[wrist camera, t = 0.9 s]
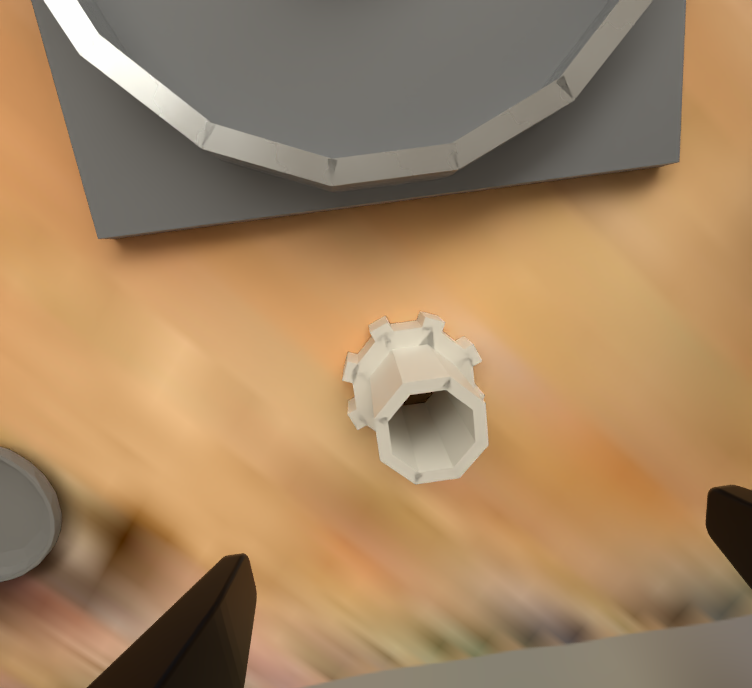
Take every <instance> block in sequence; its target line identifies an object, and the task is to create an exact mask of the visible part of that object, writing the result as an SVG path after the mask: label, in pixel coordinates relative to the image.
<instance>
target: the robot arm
mask: <svg viewBox="0 0 752 688" xmlns="http://www.w3.org/2000/svg"><path fill="white" fill-rule="evenodd" d="M706 529H707V531H708V534H709V535H710V537H711V539H712V540H713V541H714V543H715V544H716V545H717V546H718V548H719V549H720V550H721V551H722V553H723V554H724V555H725V556H726V558H727V559H728V560H729V561H730V563H731V564H732V565H733V566H734V568H735V569H736V570H737V571H738V573H739V574H740V575H741V576H742V578H743V579H744V580H745V582H746V583H747V584H748V585H749V587H750V588H751V589H752V490H749V489H746V488H743V487H740V486H736V485H727V486H720V487H714V488H712V489H710V491H709V492H708V496H707V510H706ZM256 599H257V593H256V586H255V582H254V578H253V573H252V569H251V565H250V561H249V558H248V556H247V555H246V554H244V553H242V554H235V555H228V556H225V557H223V558H222V559H221V560H220V561H219V562H218V563H217V564H216V565H215V566H214V567H213V568H212V569H210V570H209V571H208V572H207V573H206V574H205V575H204V576H203V577H202V578H201V579H200V580H199V581H198V582H197V583H196V584H195V585H194V586H193V587H192V588H191V589H190V590H189V591H187V592H186V593H185V594H184V595H183V596H182V597H181V598H180V599H179V600H178V601H177V602H176V603H175V604H174V605H173V606H172V607H171V608H170V609H169V610H168V611H167V612H165V613H164V614H163V615H162V616H161V617H160V618H159V619H158V620H157V621H156V622H155V623H154V624H153V625H152V626H151V627H150V628H149V629H148V630H147V631H146V632H145V633H144V634H142V635H141V636H140V637H139V638H138V639H137V640H136V641H135V642H134V643H133V644H132V645H131V646H130V647H129V648H128V649H127V650H126V651H125V652H124V653H123V654H122V655H120V656H119V657H118V658H117V659H116V660H115V661H114V662H113V663H112V664H111V665H110V666H109V667H108V668H107V669H106V670H105V671H104V672H103V673H102V674H101V675H100V676H99V677H97V678H96V679H95V680H94V681H93V682H92V683H91V684H90V685H89V686H88V687H87V688H244V683H245V677H246V670H247V663H248V656H249V649H250V643H251V636H252V629H253V622H254V615H255V608H256Z"/></svg>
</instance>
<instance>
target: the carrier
mask: <svg viewBox="0 0 752 688" xmlns="http://www.w3.org/2000/svg"><path fill="white" fill-rule="evenodd" d="M31 1H32V5H33V8H34V12H35V16H36V19H37V23H38V26H39V30H40V33H41V37H42V41H43V44H44V48H45V51H46V55H47V58H48V62H49V65H50V69H51V73H52V76H53V80H54V83H55V87H56V90H57V94H58V98H59V101H60V105H61V108H62V112H63V115H64V119H65V123H66V126H67V130H68V133H69V137H70V140H71V144H72V148H73V151H74V155H75V158H76V162H77V165H78V169H79V173H80V176H81V180H82V183H83V187H84V190H85V194H86V197H87V201H88V205H89V208H90V212H91V215H92V219H93V222H94V226H95V230H96V233H97V237H98V239H118V238H125V237H133V236H140V235H148V234H155V233H163V232H170V231H178V230H186V229H193V228H201V227H208V226H216V225H223V224H231V223H238V222H246V221H254V220H261V219H269V218H276V217H284V216H291V215H299V214H306V213H314V212H321V211H329V210H337V209H344V208H352V207H359V206H367V205H374V204H382V203H389V202H397V201H405V200H412V199H420V198H427V197H435V196H442V195H450V194H457V193H465V192H473V191H480V190H488V189H495V188H503V187H510V186H518V185H525V184H533V183H541V182H548V181H556V180H563V179H571V178H578V177H586V176H593V175H601V174H609V173H616V172H624V171H631V170H639V169H646V168H654V167H661V166H665V165H669V164H673V163H677V162H679V157H680V133H681V109H682V84H683V60H684V36H685V12H686V0H653V1H652V2H651V3H650V5H649V6H648V7H647V9H646V10H645V11H644V12H643V14H642V15H641V16H640V17H639V19H638V20H637V21H636V23H635V24H634V25H633V26H632V28H631V29H630V30H629V31H628V33H627V34H626V35H625V36H624V38H623V39H622V40H621V42H620V43H619V44H618V45H617V47H616V48H615V49H614V50H613V52H612V53H611V54H610V56H609V57H608V58H607V59H606V61H605V62H604V63H603V64H602V66H601V67H600V68H599V69H598V71H597V72H596V73H595V75H594V76H593V77H592V78H591V80H590V81H589V82H588V83H587V85H586V86H585V87H584V89H583V90H582V91H581V92H580V94H579V95H578V96H577V97H576V99H575V100H574V101H573V102H571V103H569V104H568V105H566V106H565V107H563V108H562V109H560V110H559V111H557V112H555V113H554V114H552V115H551V116H549V117H548V118H546V119H544V120H543V121H541V122H539V123H538V124H536V125H534V126H533V127H531V128H529V129H528V130H526V131H524V132H523V133H521V134H519V135H518V136H516V137H514V138H513V139H511V140H509V141H508V142H506V143H504V144H503V145H501V146H499V147H498V148H496V149H494V150H492V151H491V152H489V153H487V154H486V155H484V156H482V157H481V158H479V159H477V160H476V161H474V162H472V163H471V164H469V165H467V166H466V167H464V168H462V169H461V170H459V171H457V172H456V173H454V174H452V175H451V176H449V177H447V178H445V179H438V180H430V181H423V182H415V183H407V184H400V185H392V186H385V187H377V188H369V189H362V190H354V191H347V192H339V193H332V192H329V191H325V190H322V189H318V188H315V187H311V186H308V185H304V184H301V183H297V182H294V181H291V180H287V179H284V178H280V177H277V176H273V175H270V174H266V173H263V172H259V171H256V170H252V169H249V168H245V167H242V166H238V165H235V164H231V163H228V162H224V161H221V160H220V159H218V158H216V157H215V156H213V155H211V154H210V153H208V152H206V151H205V150H203V149H202V148H200V147H199V146H198V145H196V144H195V143H194V142H192V141H191V140H190V139H189V138H187V137H186V136H185V135H183V134H182V133H181V132H179V131H178V130H177V129H176V128H174V127H173V126H172V125H170V124H169V123H168V122H166V121H165V120H164V119H163V118H161V117H160V116H159V115H157V114H156V113H155V112H154V111H152V110H151V109H150V108H148V107H147V106H146V105H144V104H143V103H142V102H141V101H139V100H138V99H137V98H135V97H134V96H133V95H131V94H130V93H129V92H128V91H126V90H125V89H124V88H122V87H121V86H120V85H119V84H117V83H116V82H115V81H113V80H112V79H111V78H109V77H108V76H107V75H106V74H104V73H103V72H102V71H100V70H99V69H98V68H96V67H95V66H94V65H93V64H91V63H90V62H89V61H87V60H86V59H85V58H83V57H82V56H81V55H80V54H79V53H78V51H77V50H76V48H75V47H74V45H73V44H72V42H71V41H70V39H69V38H68V36H67V35H66V33H65V32H64V30H63V29H62V27H61V26H60V24H59V23H58V21H57V20H56V18H55V17H54V15H53V14H52V12H51V11H50V9H49V8H48V6H47V4H46V3H45V1H44V0H31ZM95 2H96V4H97V5H98V7H99V8H100V10H101V12H102V13H103V15H104V16H105V18H106V19H107V21H108V23H109V24H110V26H111V27H112V29H113V30H114V32H115V34H116V35H117V37H118V38H119V40H120V41H121V43H122V45H123V46H124V48H125V49H126V51H127V52H128V54H129V56H130V57H131V59H132V60H133V61H134V62H135V63H136V64H137V65H139V66H140V67H141V68H142V69H144V70H145V71H146V72H148V73H149V74H150V75H151V76H153V77H154V78H155V79H156V80H158V81H159V82H160V83H162V84H163V85H164V86H165V87H167V88H168V89H169V90H170V91H172V92H173V93H174V94H176V95H177V96H178V97H179V98H181V99H182V100H183V101H184V102H186V103H187V104H188V105H189V106H191V107H192V108H193V109H195V110H196V111H197V112H198V113H200V114H201V115H202V116H203V117H205V118H206V119H207V120H209V121H210V122H211V123H213V124H217V125H220V126H224V127H227V128H230V129H234V130H237V131H241V132H244V133H247V134H251V135H254V136H257V137H261V138H264V139H268V140H271V141H274V142H278V143H281V144H284V145H288V146H291V147H295V148H298V149H301V150H305V151H308V152H311V153H315V154H318V155H322V156H325V157H328V158H332V159H334V158H342V157H350V156H357V155H365V154H373V153H380V152H388V151H396V150H403V149H411V148H419V147H426V146H434V145H442V144H449V143H453V142H454V141H456V140H458V139H459V138H461V137H463V136H464V135H466V134H468V133H469V132H471V131H473V130H474V129H476V128H478V127H479V126H481V125H483V124H484V123H486V122H487V121H489V120H491V119H492V118H494V117H496V116H497V115H499V114H501V113H502V112H504V111H506V110H507V109H509V108H511V107H512V106H514V105H516V104H517V103H519V102H521V101H522V100H524V99H526V98H527V97H529V96H531V95H532V94H534V93H536V92H537V91H539V90H540V89H541V88H542V87H543V85H544V84H545V83H546V82H547V80H548V79H549V78H550V76H551V75H552V74H553V72H554V71H555V70H556V69H557V67H558V66H559V65H560V63H561V62H562V61H563V59H564V58H565V57H566V56H567V54H568V53H569V52H570V50H571V49H572V48H573V46H574V45H575V44H576V43H577V41H578V40H579V39H580V37H581V36H582V35H583V33H584V32H585V31H586V30H587V28H588V27H589V26H590V24H591V23H592V22H593V20H594V19H595V18H596V17H597V15H598V14H599V13H600V11H601V10H602V9H603V7H604V6H605V5H606V4H607V2H608V0H95Z"/></svg>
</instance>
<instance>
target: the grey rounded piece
mask: <svg viewBox="0 0 752 688" xmlns="http://www.w3.org/2000/svg"><path fill="white" fill-rule="evenodd" d="M61 518H62V513H61V509H60V505H59V501H58V498H57V494H56V492H55V490H54V489H53V487H52V486H51V484H50V483H49V481H48V480H47V478H46V477H45V475H44V474H43V473H42V472H41V471H40V470H39V469H37V468H36V467H35V466H34V465H33V464H32V463H31V462H30V461H28V460H26V459H25V458H23V457H21V456H20V455H18V454H16V453H15V452H13V451H11V450H9V449H6V448H3V447H0V582H2V581H7V580H11V579H14V578H16V577H19V576H22V575H24V574H25V573H27V572H28V571H30V570H32V569H33V568H35V567H36V566H38V565H39V564H40V563H41V562H42V560H43V559H44V558H45V557H46V556H47V554H48V553H49V552H50V551H51V550H52V548H53V547H54V545H55V544H56V542H57V539H58V537H59V534H60V531H61Z"/></svg>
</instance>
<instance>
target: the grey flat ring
mask: <svg viewBox="0 0 752 688" xmlns="http://www.w3.org/2000/svg"><path fill="white" fill-rule="evenodd" d="M44 1H45V3H46V4H47V6H48V8H49V9H50V11H51V12H52V14H53V15H54V17H55V18H56V20H57V21H58V23H59V24H60V26H61V27H62V29H63V30H64V32H65V33H66V35H67V36H68V38H69V39H70V41H71V42H72V44H73V45H74V47H75V48H76V50H77V51H78V53H79V54H80V55H81V56H82V57H83V58H85V59H86V60H87V61H89V62H90V63H91V64H93V65H94V66H95V67H96V68H98V69H99V70H100V71H102V72H103V73H104V74H106V75H107V76H108V77H109V78H111V79H112V80H113V81H115V82H116V83H117V84H119V85H120V86H121V87H122V88H124V89H125V90H126V91H128V92H129V93H130V94H131V95H133V96H134V97H135V98H137V99H138V100H139V101H141V102H142V103H143V104H144V105H146V106H147V107H148V108H150V109H151V110H152V111H154V112H155V113H156V114H157V115H159V116H160V117H161V118H163V119H164V120H165V121H166V122H168V123H169V124H170V125H172V126H173V127H174V128H176V129H177V130H178V131H179V132H181V133H182V134H183V135H185V136H186V137H187V138H189V139H190V140H191V141H192V142H194V143H195V144H196V145H198V146H199V147H200V148H202V149H203V150H205V151H206V152H208V153H210V154H211V155H213V156H215V157H216V158H218V159H220V160H221V161H224V162H228V163H231V164H235V165H238V166H242V167H245V168H249V169H252V170H256V171H259V172H263V173H266V174H270V175H273V176H277V177H280V178H284V179H287V180H291V181H294V182H297V183H301V184H304V185H308V186H311V187H315V188H318V189H322V190H325V191H329V192H332V193H339V192H347V191H354V190H362V189H369V188H377V187H385V186H392V185H400V184H407V183H415V182H423V181H430V180H438V179H445V178H447V177H449V176H451V175H452V174H454V173H456V172H457V171H459V170H461V169H462V168H464V167H466V166H467V165H469V164H471V163H472V162H474V161H476V160H477V159H479V158H481V157H482V156H484V155H486V154H487V153H489V152H491V151H492V150H494V149H496V148H498V147H499V146H501V145H503V144H504V143H506V142H508V141H509V140H511V139H513V138H514V137H516V136H518V135H519V134H521V133H523V132H524V131H526V130H528V129H529V128H531V127H533V126H534V125H536V124H538V123H539V122H541V121H543V120H544V119H546V118H548V117H549V116H551V115H552V114H554V113H555V112H557V111H559V110H560V109H562V108H563V107H565V106H566V105H568V104H569V103H571V102H573V101H574V100H575V99H576V97H577V96H578V95H579V94H580V92H581V91H582V90H583V89H584V87H585V86H586V85H587V83H588V82H589V81H590V80H591V78H592V77H593V76H594V75H595V73H596V72H597V71H598V69H599V68H600V67H601V66H602V64H603V63H604V62H605V61H606V59H607V58H608V57H609V56H610V54H611V53H612V52H613V50H614V49H615V48H616V47H617V45H618V44H619V43H620V42H621V40H622V39H623V38H624V36H625V35H626V34H627V33H628V31H629V30H630V29H631V28H632V26H633V25H634V24H635V23H636V21H637V20H638V19H639V17H640V16H641V15H642V14H643V12H644V11H645V10H646V9H647V7H648V6H649V5H650V3H651V2H652V1H653V0H608V2H607V4H606V5H605V6H604V7H603V9H602V10H601V11H600V13H599V14H598V15H597V17H596V18H595V19H594V20H593V22H592V23H591V24H590V26H589V27H588V28H587V30H586V31H585V32H584V33H583V35H582V36H581V37H580V39H579V40H578V41H577V43H576V44H575V45H574V46H573V48H572V49H571V50H570V52H569V53H568V54H567V56H566V57H565V58H564V59H563V61H562V62H561V63H560V65H559V66H558V67H557V69H556V70H555V71H554V72H553V74H552V75H551V76H550V78H549V79H548V80H547V82H546V83H545V84H544V85H543V87H542V88H541V89H540V90H539V91H537V92H536V93H534V94H532V95H531V96H529V97H527V98H526V99H524V100H522V101H521V102H519V103H517V104H516V105H514V106H512V107H511V108H509V109H507V110H506V111H504V112H502V113H501V114H499V115H497V116H496V117H494V118H492V119H491V120H489V121H487V122H486V123H484V124H483V125H481V126H479V127H478V128H476V129H474V130H473V131H471V132H469V133H468V134H466V135H464V136H463V137H461V138H459V139H458V140H456V141H454V142H453V143H449V144H442V145H434V146H426V147H419V148H411V149H403V150H396V151H388V152H380V153H373V154H365V155H357V156H350V157H342V158H334V159H332V158H328V157H325V156H322V155H318V154H315V153H311V152H308V151H305V150H301V149H298V148H295V147H291V146H288V145H284V144H281V143H278V142H274V141H271V140H268V139H264V138H261V137H257V136H254V135H251V134H247V133H244V132H241V131H237V130H234V129H230V128H227V127H224V126H220V125H217V124H213V123H211V122H210V121H209V120H207V119H206V118H205V117H203V116H202V115H201V114H200V113H198V112H197V111H196V110H195V109H193V108H192V107H191V106H189V105H188V104H187V103H186V102H184V101H183V100H182V99H181V98H179V97H178V96H177V95H176V94H174V93H173V92H172V91H170V90H169V89H168V88H167V87H165V86H164V85H163V84H162V83H160V82H159V81H158V80H156V79H155V78H154V77H153V76H151V75H150V74H149V73H148V72H146V71H145V70H144V69H142V68H141V67H140V66H139V65H137V64H136V63H135V62H134V61H133V60H132V59H131V57H130V56H129V54H128V52H127V51H126V49H125V48H124V46H123V45H122V43H121V41H120V40H119V38H118V37H117V35H116V34H115V32H114V30H113V29H112V27H111V26H110V24H109V23H108V21H107V19H106V18H105V16H104V15H103V13H102V12H101V10H100V8H99V7H98V5H97V4H96V2H95V0H44Z"/></svg>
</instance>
